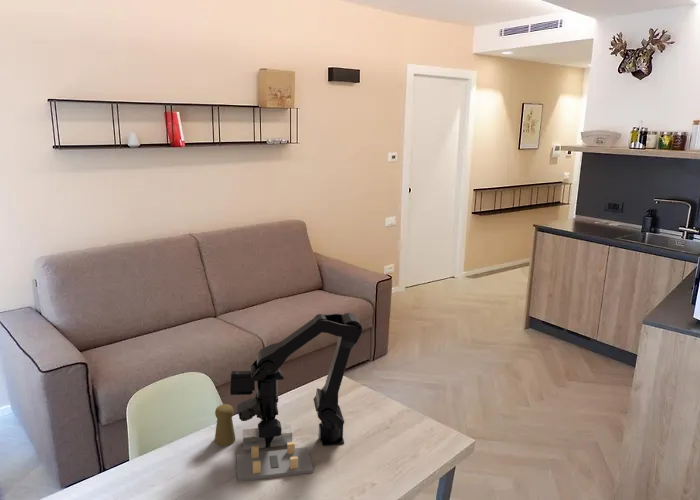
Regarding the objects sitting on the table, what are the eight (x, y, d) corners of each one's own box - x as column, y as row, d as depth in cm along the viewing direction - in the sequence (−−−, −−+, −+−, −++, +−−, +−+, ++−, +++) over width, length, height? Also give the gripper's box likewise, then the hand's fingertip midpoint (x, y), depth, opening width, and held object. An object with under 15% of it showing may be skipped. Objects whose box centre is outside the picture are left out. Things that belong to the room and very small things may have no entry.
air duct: (290, 436, 158) (290, 424, 157) (292, 444, 154) (292, 432, 153) (242, 441, 155) (242, 429, 154) (243, 450, 151) (243, 437, 150)
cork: (230, 447, 152) (229, 413, 149) (210, 444, 153) (209, 410, 150) (238, 435, 158) (238, 402, 155) (220, 432, 159) (219, 399, 156)
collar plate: (307, 449, 153) (307, 437, 152) (313, 472, 143) (313, 459, 142) (236, 457, 148) (236, 445, 147) (237, 481, 139) (237, 468, 138)
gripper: (237, 378, 157) (238, 424, 161) (239, 413, 140) (240, 463, 144) (274, 375, 160) (274, 421, 164) (281, 408, 142) (281, 458, 146)
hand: (267, 440), depth 154 cm, fingers closed on air duct, 4 cm apart
